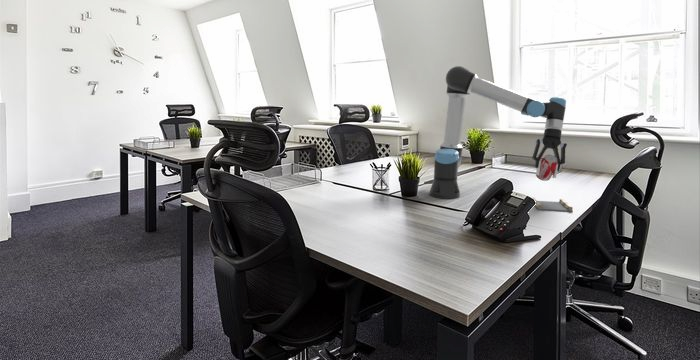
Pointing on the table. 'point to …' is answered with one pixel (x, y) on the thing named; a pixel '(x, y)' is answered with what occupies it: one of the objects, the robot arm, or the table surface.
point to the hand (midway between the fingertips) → (545, 176)
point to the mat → (552, 206)
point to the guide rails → (559, 201)
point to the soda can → (547, 167)
